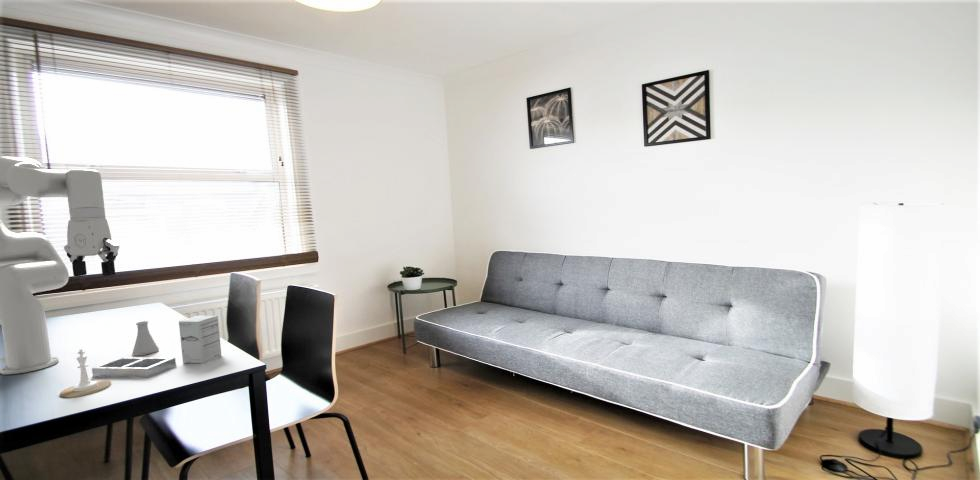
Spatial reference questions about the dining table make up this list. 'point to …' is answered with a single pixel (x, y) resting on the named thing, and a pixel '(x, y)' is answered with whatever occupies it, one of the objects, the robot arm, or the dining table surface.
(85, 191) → the robot arm
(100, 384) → the coaster
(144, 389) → the dining table surface
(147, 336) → the flask
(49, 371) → the dining table surface
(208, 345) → the supplement box
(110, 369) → the divided tray
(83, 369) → the chess piece
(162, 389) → the dining table surface
